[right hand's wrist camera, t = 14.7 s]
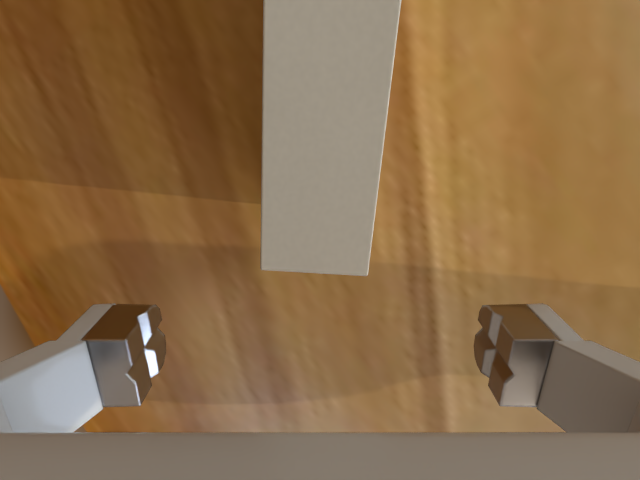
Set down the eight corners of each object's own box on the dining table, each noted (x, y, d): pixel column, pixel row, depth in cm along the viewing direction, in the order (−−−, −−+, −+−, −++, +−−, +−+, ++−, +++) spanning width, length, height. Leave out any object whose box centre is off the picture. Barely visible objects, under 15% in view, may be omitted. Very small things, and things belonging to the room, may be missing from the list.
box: (351, 211, 34) (367, 276, 23) (280, 206, 34) (260, 270, 23) (392, -200, 24) (456, -447, 13) (292, -209, 24) (267, -466, 13)
